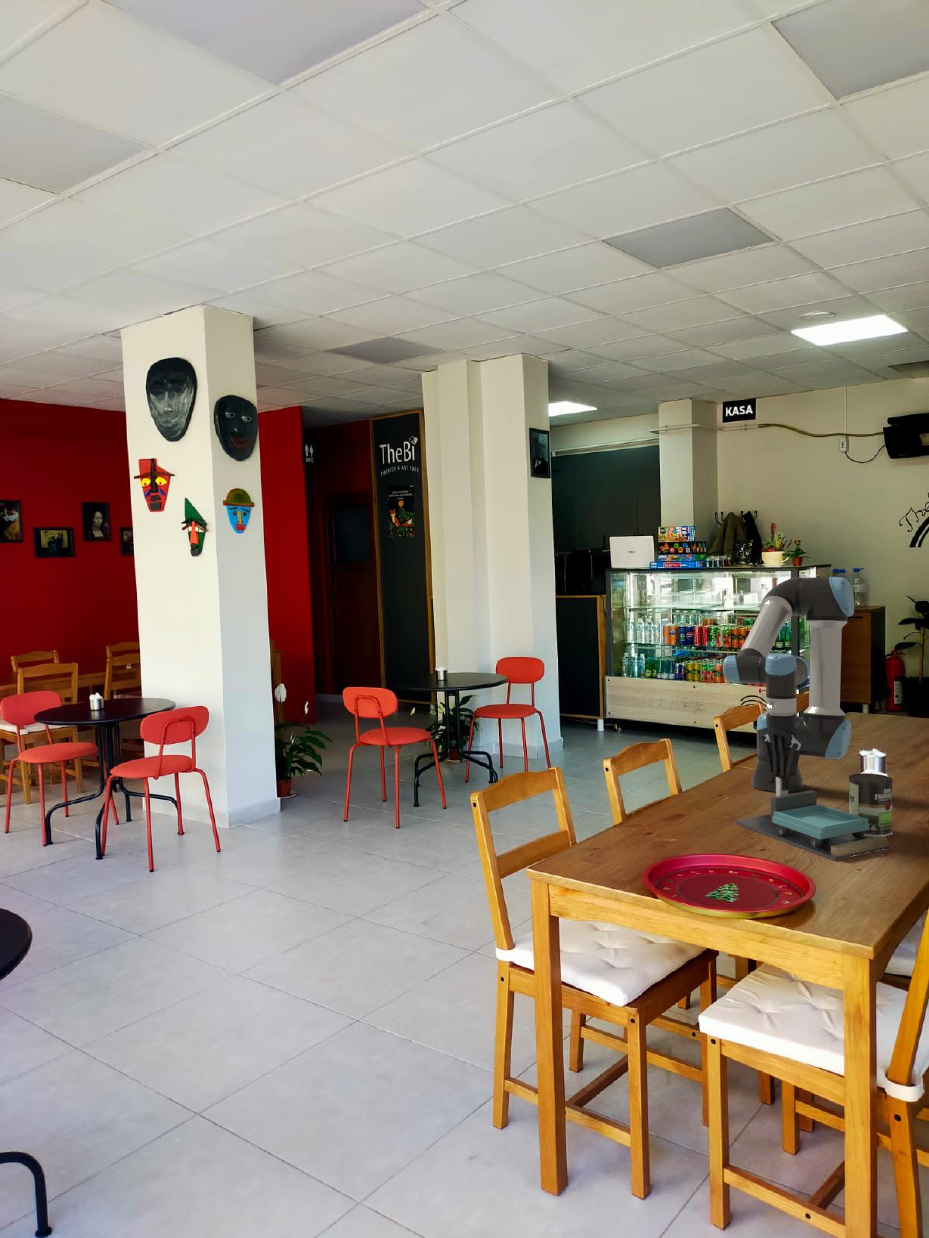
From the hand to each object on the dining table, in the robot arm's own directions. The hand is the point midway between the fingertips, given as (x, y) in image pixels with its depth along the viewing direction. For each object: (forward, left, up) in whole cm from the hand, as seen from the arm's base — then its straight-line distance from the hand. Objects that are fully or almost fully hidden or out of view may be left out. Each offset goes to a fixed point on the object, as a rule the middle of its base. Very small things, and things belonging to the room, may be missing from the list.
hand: (782, 801), depth 235 cm
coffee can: (+15, +16, -7) cm, 22 cm away
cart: (+13, 0, -6) cm, 14 cm away
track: (+10, 0, -7) cm, 12 cm away
